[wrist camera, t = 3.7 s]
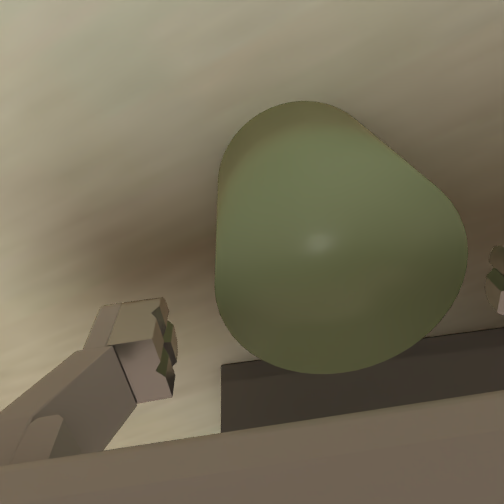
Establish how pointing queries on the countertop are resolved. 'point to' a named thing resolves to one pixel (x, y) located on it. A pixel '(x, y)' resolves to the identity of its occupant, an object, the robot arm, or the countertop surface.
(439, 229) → the egg-shaped green gourd
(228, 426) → the grey bin
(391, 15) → the countertop surface
